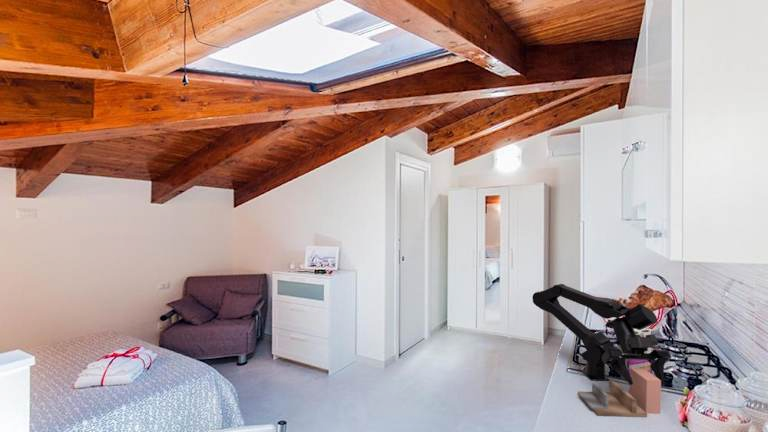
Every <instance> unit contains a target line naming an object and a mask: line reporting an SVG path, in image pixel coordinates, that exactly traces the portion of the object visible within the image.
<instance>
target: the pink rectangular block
mask: <svg viewBox="0 0 768 432" xmlns="http://www.w3.org/2000/svg"><path fill="white" fill-rule="evenodd" d="M630 376H631V378H632V381H633V384H632V385H630V384H629V394H630V395H631V396H633V397H634V398H635V399H636V400H637V405H638V406H639V407H640V408H641V409H642V410H643V411H645V412H646V413H647V415H650V414H651V415H652V414H653V415H657V414H658V415H660V414H661V404H662V403H661V400H662V399H661V398H662V397H661V395H662V393H661V392H662V385H661V380H660V379H658V378H657V377H656V376H655V374H653V373H652V374H651V373H650V372H648V371H647V370H645V369H644V368H630Z"/></svg>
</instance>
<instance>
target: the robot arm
mask: <svg viewBox="0 0 768 432" xmlns="http://www.w3.org/2000/svg"><path fill="white" fill-rule="evenodd" d="M559 297H562V298H563V299H566V300H569V301H571V302H575V303H577V304H579V305H582V306H583V307H586V308H588V309H590V310H591V311H592V312H593V313H594V314H596V315H597V316H600V317H601V318H603V319H606V320H607V322H605V327H606V328H609V329H612V330H613V332H614V334H615V337H616V346H617V345H620V347H621V349H622V351H621V350H620V349H617V348H615V345H614V343H613V342H612V339H610V338H609V337H608V336H606V334H604V333H603V332H602V331H598V332H594V331H591V330H590V329H589V328H588V327H587V326H586V325H584V323H582V322H581V321H580V320H579V319H578V318H576V317H575V316H574V315H573V314H571V313H570V312H569V311H568V310H567V309H566V308H564V307H563V306H562V305H561V304H560V302H559V299H558V298H559ZM532 303H533V304H534V305H535V306H536V307H537V308H538V309H541V310H542V311H545V312H547V313H550V314H551V315H552V316H554V317H555V318H556V319H557V320H558V321H559V322H560V323H561V324H562V325H563V326H565V327H566V328H567V329H568V330H569V331H570V332H571V333H572V334H574V335H575V336H576V337H577V338H578V339H579V340H581V341H582V344H583V346H584V349H586V350H585V351H584V352H582V353H581V357H582V360H583V361H586V370H582V372H581V373H582V374H584V376H586V377H587V378H588V379H589V380H590V381H610V378H609V377H608V376H607V375H606V365H607V366H608V367H611V368H612V369H614V371H616V373H617V372H618V373H617V374H619V375H620V376H621V377H622V378H623V379H624V380H625V381H626V382H627V383H628V384H629V386H630V385H632V384H633V381H632V378H631V376H630V374H629V371H628V369H627V367H626V364H625V360H648V361H649V363H651V365H650V367H651V369H652V373H653V375H654V376H655V377H657V378H658V379H660V380H661V387H662V386H665V383H666V382H665V374H664V373H665V372H664V370H665V364H666V363H668V362H669V361H670V360H671V359H672V355H671V353H670V352H669V351H668V350H666V349H659V348H658V349H654V347H655V346H658V345H659V341H658V338H657V336H656V335H655V334H653V333H652V334H649V335H646V337H640V336H639V335H636V333H635V331H634V329H635V328H636V329H638V330H642V329H644V328H648V327H650V326H652V325H653V326H654V325H655V324H657V323H658V317H657V316H656V313H655V312H654V311H652V310H651V309H650V308H649V307H647V306H645V305H644V304H643V303H639V304H637V305H636V306H634V307H632V308H630V307H627V306H625V305H622V304H621V303H620V302H619V301H618V300H616V299H612V298H608V297H603V296H602V297H600V296H595V295H592V294H590V293H586V292H583V291H580V290H578V289H575V288H573V287H570V286H568V285H565V284H563V283H558V284H554V285H553V286H552V287H549V288H548V289H545V290H541V291H536V292H534V293H533V294H532ZM612 318H614V319H612ZM633 328H634V329H633ZM617 339H618V341H617ZM648 348H652V352H651V353H644V352H645V351H647V350H648ZM622 352H623V353H622Z"/></svg>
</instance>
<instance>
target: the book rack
mask: <svg viewBox="0 0 768 432" xmlns="http://www.w3.org/2000/svg"><path fill="white" fill-rule="evenodd" d="M608 382H609V387H608V388H609V389H608V391H604V389H602V388H601V387H600V386H599V385H598V384H597V383H596V382H591V385H592V386H591V391H578V392H577V395H578V396H579V398H581V400H583V402H584V403H585V404H586V405H587V406H588V407H589V409H591V411H592V412H593V414H595V415H596V416H597V417H627V418H629V417H630V418H631V417H632V418H647V417H648V414H647V413H646V412H645V411H643V410H642V409H641V408H640V407H639V406H638V405H637V400H636V399H635V398H634V397H633V396H631V395H630V392H628V391H627V390H626V389H625V388H623V387H622V386H621V385H620V384H619V383H617V381H615V380H614V379H609V381H608Z"/></svg>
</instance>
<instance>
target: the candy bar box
mask: <svg viewBox="0 0 768 432" xmlns="http://www.w3.org/2000/svg"><path fill="white" fill-rule="evenodd" d="M633 329H634V328H633ZM634 331H635V333H636V335H639V336H640V337H646V335H649V334H653V329H650V328H648V327H646V328H644V329H642V330H638V329H636V328H635V329H634ZM617 341H618V339H617V338H616V342H617ZM616 349H620V350H621V351H622V349H621V347H620V345H617V344H616ZM652 351H653V348H648V350H647V351H645V352H644V353H651V352H652ZM622 353H623V352H622ZM625 364H626V367H627V369H628V371H629V374H630V368H644V369H645V370H647V371H648V372H650V373H651V374H652V375H653V371H652V369H651V367H650V365H651V363H649V361H648V360H625Z"/></svg>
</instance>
